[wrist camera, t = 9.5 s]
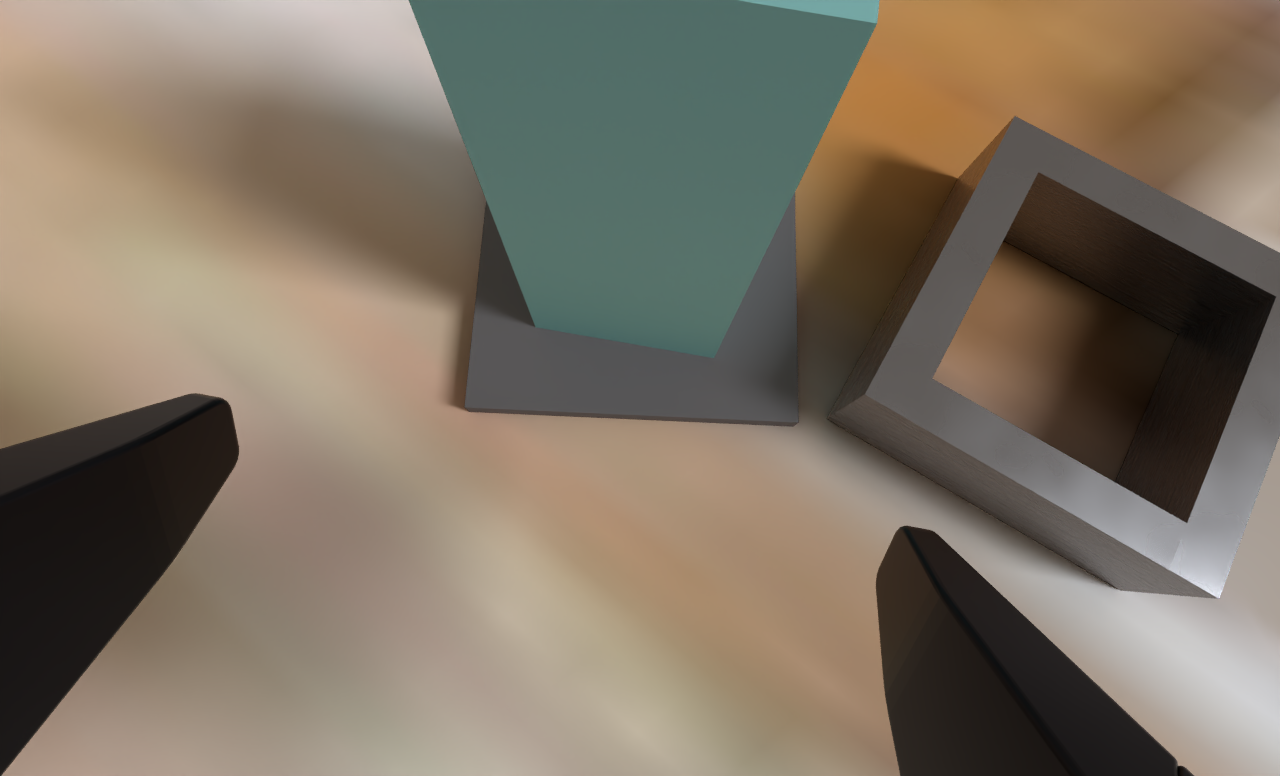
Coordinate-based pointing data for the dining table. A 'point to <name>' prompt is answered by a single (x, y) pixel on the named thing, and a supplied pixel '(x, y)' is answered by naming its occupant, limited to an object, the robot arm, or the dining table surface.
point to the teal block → (641, 145)
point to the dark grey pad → (637, 354)
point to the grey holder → (1180, 405)
